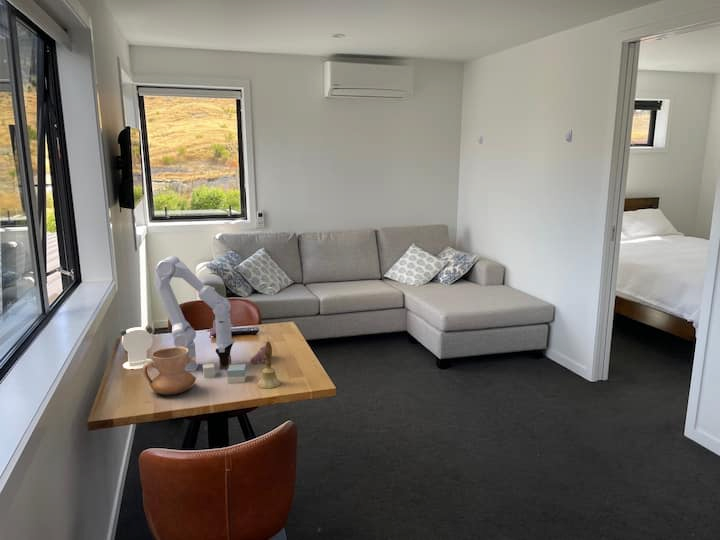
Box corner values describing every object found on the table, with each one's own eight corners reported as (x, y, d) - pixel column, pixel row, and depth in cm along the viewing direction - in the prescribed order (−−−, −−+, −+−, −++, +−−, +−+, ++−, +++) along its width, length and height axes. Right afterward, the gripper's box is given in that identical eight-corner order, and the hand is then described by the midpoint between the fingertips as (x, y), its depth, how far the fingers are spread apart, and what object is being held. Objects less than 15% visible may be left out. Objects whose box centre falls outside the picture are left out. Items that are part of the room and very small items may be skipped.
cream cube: (204, 378, 201) (203, 368, 200) (203, 374, 204) (202, 364, 203) (215, 377, 202) (214, 366, 201) (214, 373, 206) (213, 363, 205)
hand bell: (266, 378, 200) (264, 337, 197) (285, 381, 197) (283, 340, 194) (252, 386, 193) (250, 344, 190) (272, 390, 189) (270, 347, 186)
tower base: (227, 384, 196) (227, 377, 196) (229, 377, 202) (229, 371, 201) (244, 383, 197) (244, 376, 196) (246, 376, 202) (245, 370, 202)
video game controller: (258, 368, 214) (265, 353, 212) (248, 362, 215) (255, 348, 213) (267, 359, 224) (274, 345, 222) (258, 354, 224) (264, 340, 222)
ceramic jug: (200, 380, 199) (197, 343, 196) (196, 395, 185) (192, 356, 182) (149, 385, 196) (145, 347, 193) (141, 401, 182) (136, 361, 179)
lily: (238, 337, 251) (231, 318, 253) (234, 335, 240) (227, 315, 242) (213, 347, 250) (206, 327, 251) (208, 345, 238) (201, 325, 240)
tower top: (227, 377, 196) (227, 370, 195) (229, 371, 202) (229, 364, 201) (244, 376, 196) (244, 370, 196) (246, 370, 202) (245, 364, 202)
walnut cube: (219, 369, 209) (219, 359, 208) (221, 365, 213) (220, 356, 212) (230, 369, 210) (229, 359, 209) (231, 365, 214) (230, 355, 213)
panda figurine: (153, 357, 223) (150, 322, 220) (157, 365, 213) (153, 329, 210) (121, 362, 218) (118, 326, 215) (124, 371, 208) (120, 334, 205)
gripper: (231, 335, 202) (233, 370, 204) (236, 324, 216) (237, 356, 219) (212, 336, 201) (214, 371, 204) (218, 325, 215) (220, 357, 218)
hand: (225, 363), depth 211 cm, fingers closed on walnut cube, 4 cm apart
